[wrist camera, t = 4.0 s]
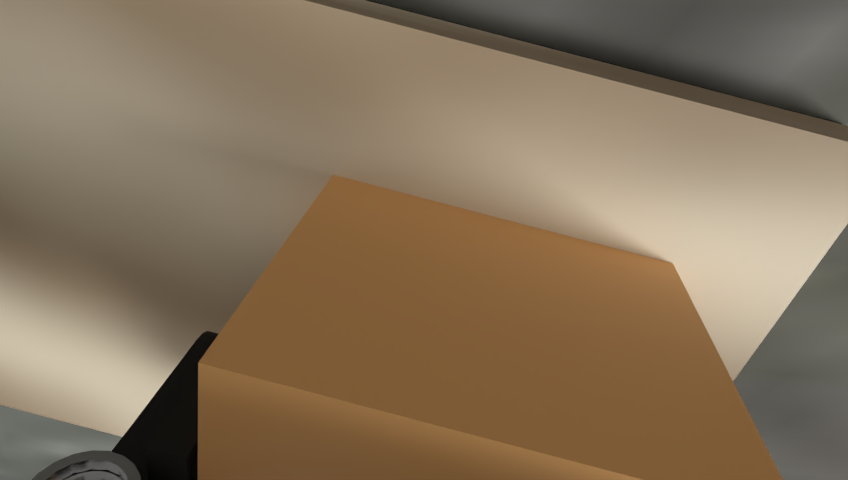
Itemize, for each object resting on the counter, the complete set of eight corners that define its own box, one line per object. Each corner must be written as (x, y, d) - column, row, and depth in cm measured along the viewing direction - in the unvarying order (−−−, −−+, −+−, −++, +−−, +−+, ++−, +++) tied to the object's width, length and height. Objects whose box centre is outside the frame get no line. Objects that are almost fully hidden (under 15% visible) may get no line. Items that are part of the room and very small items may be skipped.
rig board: (-495, -224, 10) (-648, -248, 8) (844, 125, 10) (896, 154, 8) (-230, 295, 16) (-295, 326, 15) (593, 511, 16) (601, 562, 14)
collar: (333, 174, 10) (198, 362, 6) (672, 263, 10) (803, 522, 5) (298, 410, 13) (196, 645, 9) (553, 477, 13) (577, 745, 9)
